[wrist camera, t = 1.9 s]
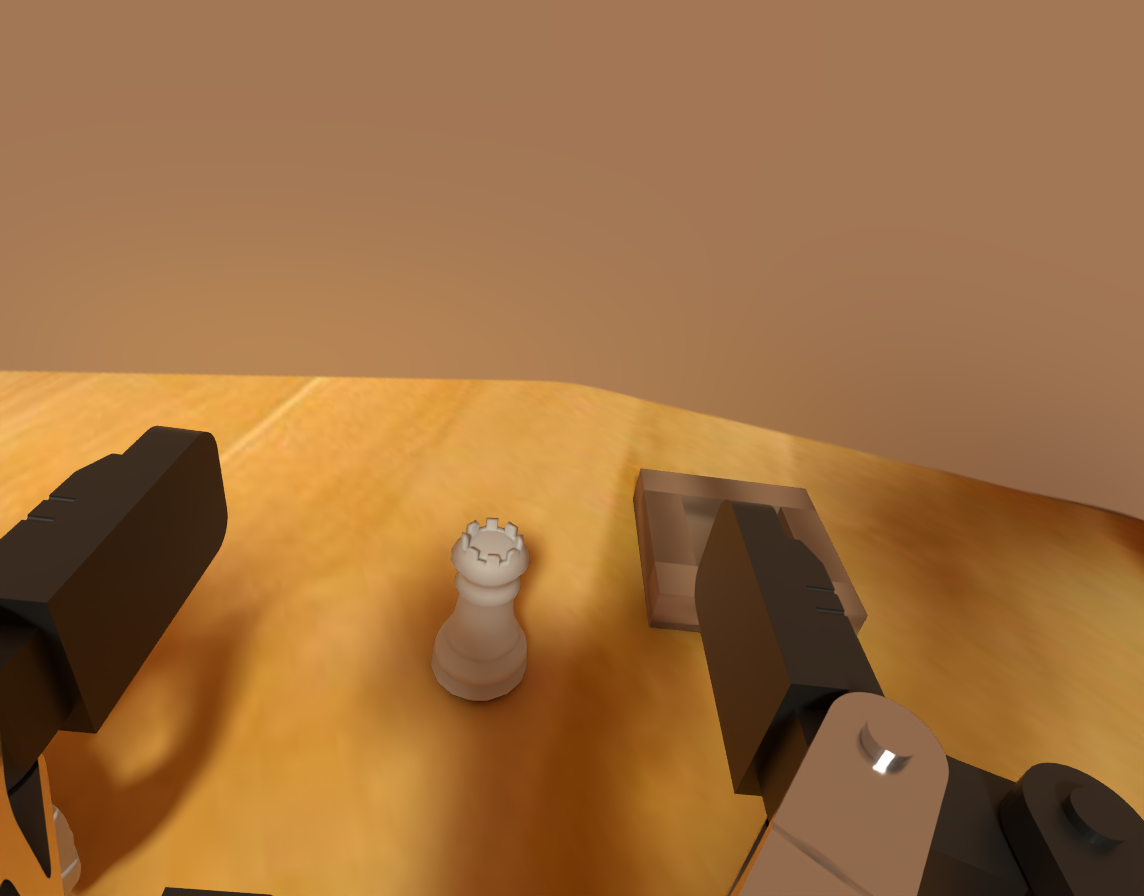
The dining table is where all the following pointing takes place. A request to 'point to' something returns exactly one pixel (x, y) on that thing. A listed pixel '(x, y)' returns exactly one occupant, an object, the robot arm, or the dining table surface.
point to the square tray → (682, 527)
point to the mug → (66, 852)
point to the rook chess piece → (484, 615)
